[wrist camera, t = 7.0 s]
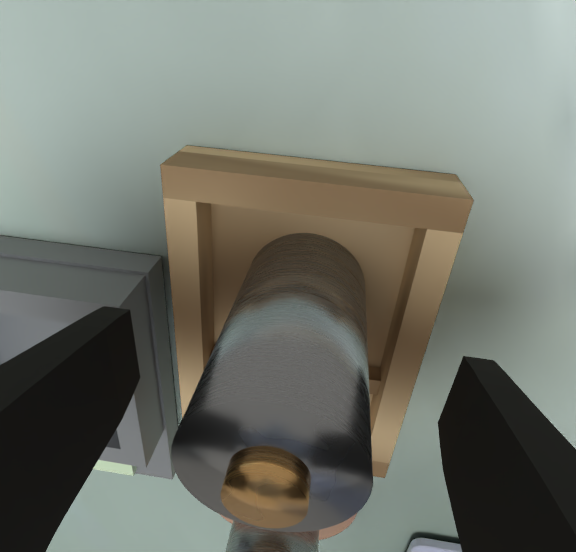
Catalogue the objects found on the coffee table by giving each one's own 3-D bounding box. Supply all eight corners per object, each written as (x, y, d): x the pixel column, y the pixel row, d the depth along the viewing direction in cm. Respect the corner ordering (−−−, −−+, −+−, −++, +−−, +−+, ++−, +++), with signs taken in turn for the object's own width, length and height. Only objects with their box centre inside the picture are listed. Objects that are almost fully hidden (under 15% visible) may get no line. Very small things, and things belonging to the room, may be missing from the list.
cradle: (180, 458, 18) (157, 517, 16) (28, 433, 19) (-15, 487, 16) (161, 256, 13) (122, 303, 11) (-49, 229, 14) (-128, 269, 11)
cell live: (352, 342, 13) (350, 577, 7) (244, 322, 13) (163, 537, 8) (377, 244, 11) (399, 455, 6) (252, 223, 11) (154, 408, 6)
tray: (381, 434, 16) (384, 478, 14) (200, 405, 16) (184, 445, 15) (456, 174, 11) (473, 200, 9) (186, 145, 11) (160, 164, 10)
